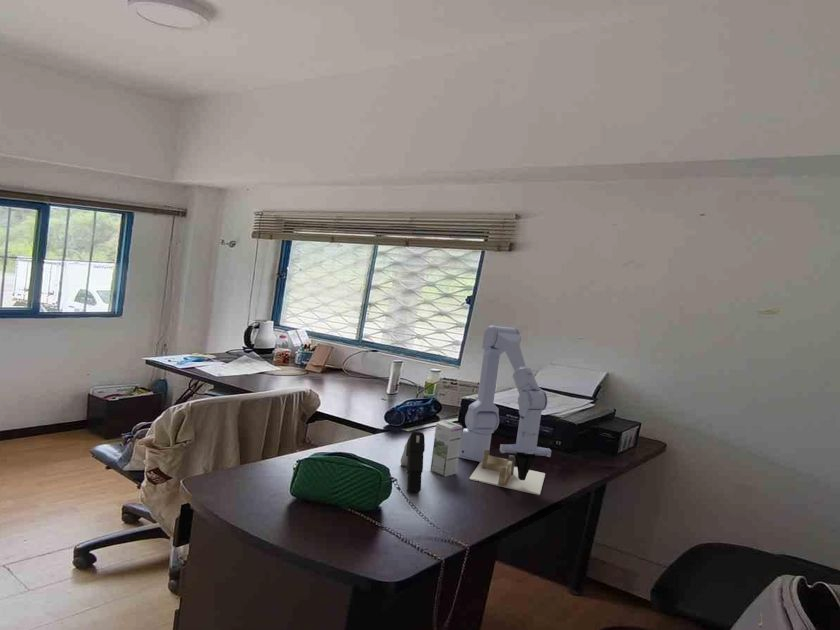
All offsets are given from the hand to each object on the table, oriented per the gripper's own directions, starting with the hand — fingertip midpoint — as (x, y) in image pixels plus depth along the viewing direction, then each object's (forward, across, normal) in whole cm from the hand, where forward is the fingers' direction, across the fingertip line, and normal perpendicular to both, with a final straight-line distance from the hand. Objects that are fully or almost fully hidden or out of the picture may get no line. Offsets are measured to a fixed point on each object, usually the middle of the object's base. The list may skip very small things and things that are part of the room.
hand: (521, 479), depth 163 cm
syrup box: (+3, -21, +8) cm, 22 cm away
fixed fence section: (+2, -4, +12) cm, 12 cm away
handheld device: (+3, -32, 0) cm, 32 cm away
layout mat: (+2, -1, +8) cm, 9 cm away
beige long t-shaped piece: (+2, -4, +4) cm, 5 cm away
